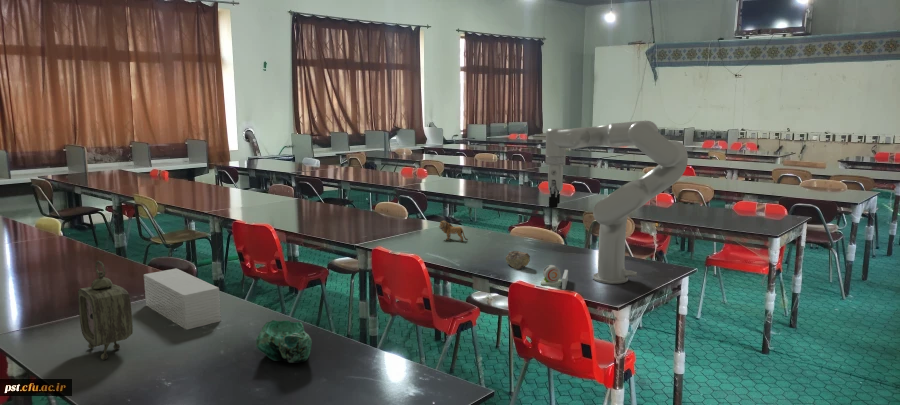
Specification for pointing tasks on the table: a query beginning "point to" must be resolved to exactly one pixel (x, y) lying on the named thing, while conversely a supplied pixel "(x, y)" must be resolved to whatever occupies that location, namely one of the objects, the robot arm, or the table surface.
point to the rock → (517, 259)
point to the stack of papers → (182, 298)
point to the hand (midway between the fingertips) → (554, 205)
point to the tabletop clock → (104, 312)
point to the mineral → (284, 341)
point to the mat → (551, 283)
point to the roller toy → (551, 273)
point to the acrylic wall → (564, 279)
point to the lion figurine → (451, 230)
